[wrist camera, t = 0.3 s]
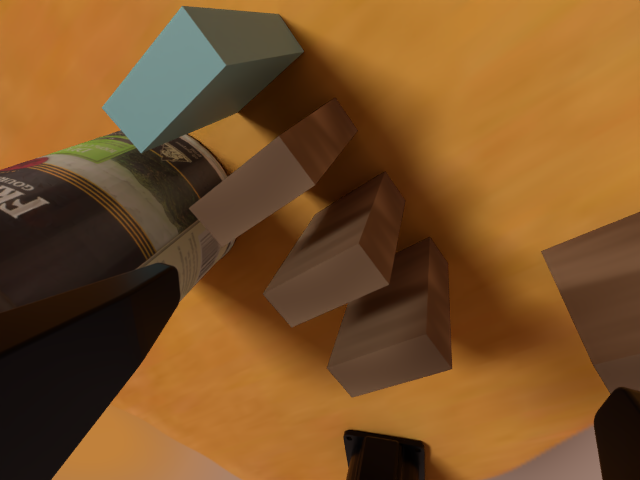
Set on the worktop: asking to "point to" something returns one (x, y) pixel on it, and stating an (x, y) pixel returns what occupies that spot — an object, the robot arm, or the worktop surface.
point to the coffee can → (104, 216)
